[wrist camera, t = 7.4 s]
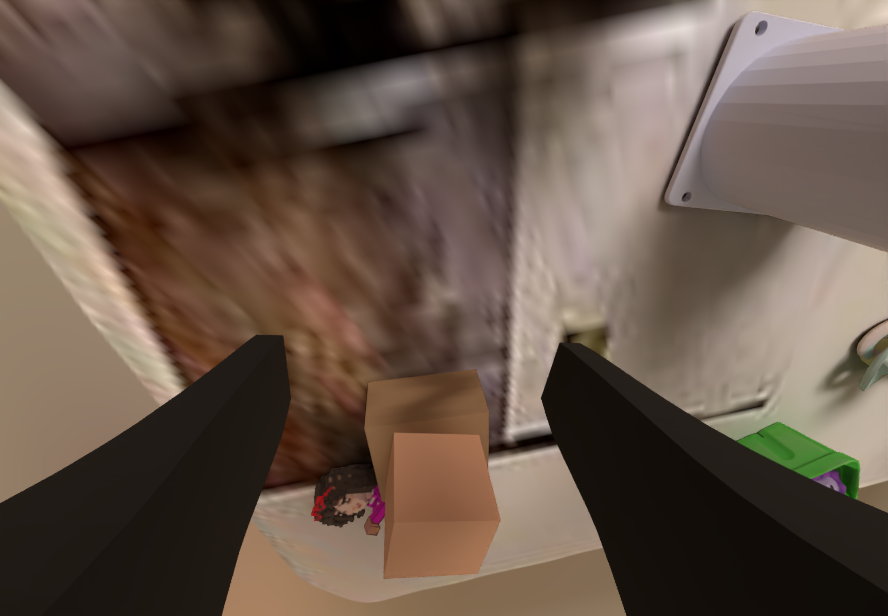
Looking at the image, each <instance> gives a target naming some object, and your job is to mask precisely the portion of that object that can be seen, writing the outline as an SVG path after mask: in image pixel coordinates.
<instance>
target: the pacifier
mask: <svg viewBox="0 0 888 616" xmlns="http://www.w3.org/2000/svg"><path fill="white" fill-rule="evenodd" d="M886 335H888V320H887V321H885V322H883V323H881V324H879V325H878V326H876V327H875V328H873V329H872V330H870V331H869V332H868V333H867V334H866V335H865V336H864V337H863V338H862V339H861V341H860V342H859V343H858V346H857V354H858V355H859V356H860V359H861V360H862V361H863V362H864V363H866V364H867V365H869V367H868V369H867V370H866V372H865V374H864V376H863V378H862V381H861V383H860V387H859V388H860V389H861V390H863V391H865V390H866V389H867V388H869V387H870V386H871V385H872V384H873V383H875V382H876V381H877V380H879V379H880V378H881V377H882V376H883V375H886V374H888V337H887V338H884V339H882V338H883V337H884V336H886Z"/></svg>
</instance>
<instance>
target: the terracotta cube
mask: <svg viewBox="0 0 888 616" xmlns="http://www.w3.org/2000/svg"><path fill="white" fill-rule="evenodd" d="M500 521H501V519H500V515H499V512H498V508H497V504H496V500H495V496H494V492H493V488H492V484H491V480H490V476H489V472H488V468H487V464H486V460H485V456H484V452H483V448H482V444H481V440H480V436H479V435H467V434H427V433H394V436H393V443H392V449H391V456H390V462H389V469H388V475H387V482H386V494H385V540H384V579H387V578H406V577H426V576H445V575H464V574H478V572H479V569H480V567H481V565H482V562H483V560H484V558H485V555H486V553H487V551H488V549H489V546H490V544H491V542H492V539H493V537H494V535H495V532H496V530H497V528H498V525H499V523H500Z"/></svg>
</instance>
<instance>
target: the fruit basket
mask: <svg viewBox="0 0 888 616" xmlns="http://www.w3.org/2000/svg"><path fill="white" fill-rule="evenodd" d="M737 442H738V443H740V444H742V445H744V446H746V447H748V448H749V449H751V450H753V451H755V452H757V453H759V454H761V455H763V456H765V457H767V458H769V459H771V460H773V461H775V462H777V463H779V464H781V465H783V466H785V467H787V468H789V469H791V470H793V471H795V472H797V473H799V474H801V475H804V476H806V477H808V478H810V479H812V480H814V481H816V482H818V483H820V484H822V485H825V486H827V487H829V488H831V489H834V490H836V491H838V492H840V493H843V494H845V495H847V496H849V497H851V498H854V499H857V496H858V494H857V491H858V489H859V487H858V486H859V479H860V478H859V474H860V464H859V461H858V460H856V459H854V458H852V457H850V456H847V455H845V454H843V453H840V452H836V451H834V450H832V449H830V448H828V447H826V446H824V445H822V444H821V443H819V442H817V441H815V440H813V439H811V438H809V437H807V436H805V435H803V434H801V433H799V432H798V431H796V430H794V429H792V428H790V427H788V426H786V425H784V424H782V423H780V422H777V423H775V424H773V425H770V426H768V427H766V428H764V429H762V430H760V431H759V432H758V433H757V434H756V433H755V434H752V435H749V436H747V437H745V438H742V439H740V440H738V441H737Z"/></svg>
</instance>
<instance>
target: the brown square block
mask: <svg viewBox="0 0 888 616" xmlns="http://www.w3.org/2000/svg"><path fill="white" fill-rule="evenodd" d="M364 429H365V433H366V437H367V441H368V445H369V449H370V454H371V458H372V462H373V466H374V470H375V474H376V479H377V483H378V487H379V491H380V495H381V499H382V502H385V494H386V482H387V475H388V469H389V462H390V456H391V449H392V443H393V436H394V433H427V434H467V435H479V436H480V440H481V444H482V448H483V452H484V456H485V460H486V464H487V468H488V446H489V410H488V407H487V404H486V400H485V397H484V394H483V390H482V387H481V384H480V380H479V377H478V374H477V371H476V369H474V370H466V371H457V372H449V373H441V374H433V375H424V376H416V377H408V378H400V379H392V380H383V381H375V382H368V394H367V405H366V416H365V428H364Z"/></svg>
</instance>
